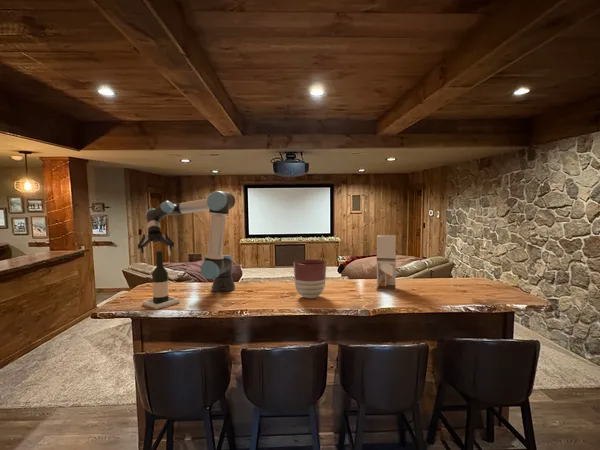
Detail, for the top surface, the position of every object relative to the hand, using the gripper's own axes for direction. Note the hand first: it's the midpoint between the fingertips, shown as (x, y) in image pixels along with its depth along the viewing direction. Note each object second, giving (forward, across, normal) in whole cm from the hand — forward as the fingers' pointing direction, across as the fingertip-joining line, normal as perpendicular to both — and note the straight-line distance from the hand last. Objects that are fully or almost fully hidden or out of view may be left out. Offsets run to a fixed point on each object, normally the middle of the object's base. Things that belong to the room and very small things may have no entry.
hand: (157, 256), depth 197 cm
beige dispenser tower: (+54, -132, +17) cm, 144 cm away
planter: (+48, -80, +11) cm, 94 cm away
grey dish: (+26, 0, -11) cm, 28 cm away
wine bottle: (+26, 0, -11) cm, 28 cm away
